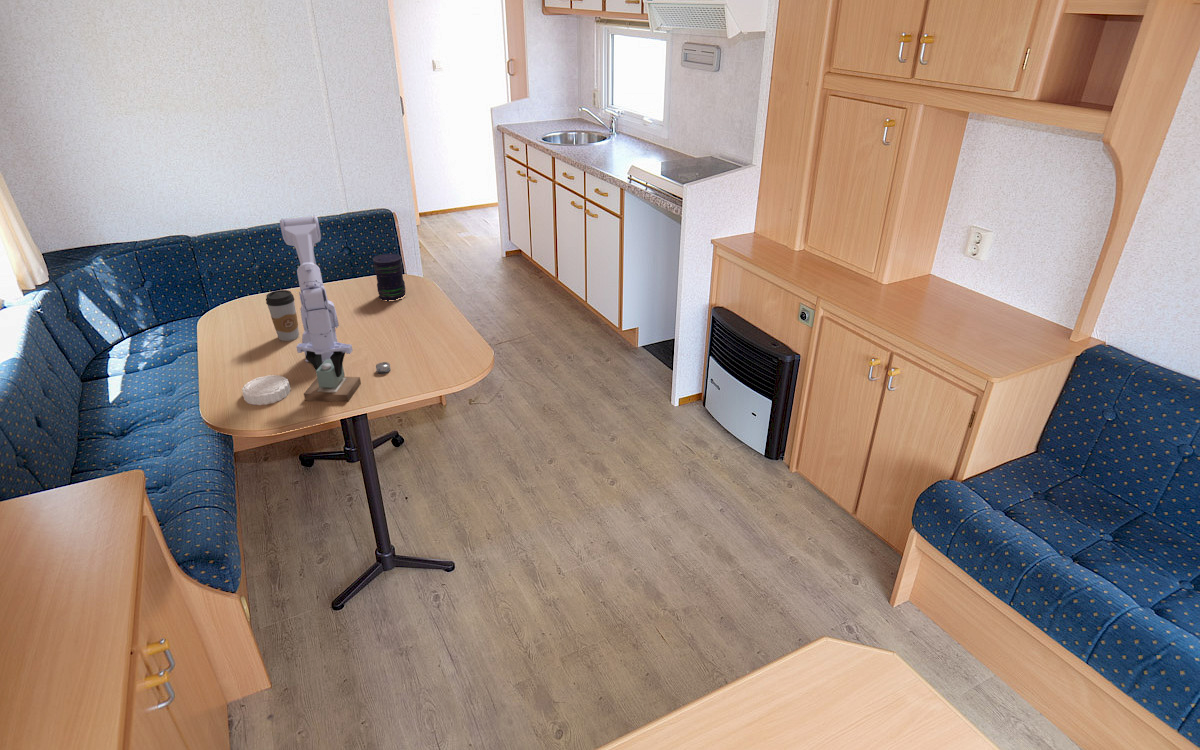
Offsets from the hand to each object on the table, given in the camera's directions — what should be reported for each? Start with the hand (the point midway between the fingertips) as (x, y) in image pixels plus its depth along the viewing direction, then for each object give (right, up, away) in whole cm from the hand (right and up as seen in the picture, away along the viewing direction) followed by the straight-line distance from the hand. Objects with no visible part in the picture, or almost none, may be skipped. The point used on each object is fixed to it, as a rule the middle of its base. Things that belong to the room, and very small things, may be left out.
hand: (330, 375), depth 190 cm
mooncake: (-18, -6, +2) cm, 19 cm away
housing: (0, -2, +1) cm, 2 cm away
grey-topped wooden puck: (+11, +1, +14) cm, 17 cm away
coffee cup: (-27, +12, +33) cm, 44 cm away
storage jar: (-2, +29, +64) cm, 70 cm away
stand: (0, -5, +3) cm, 5 cm away
